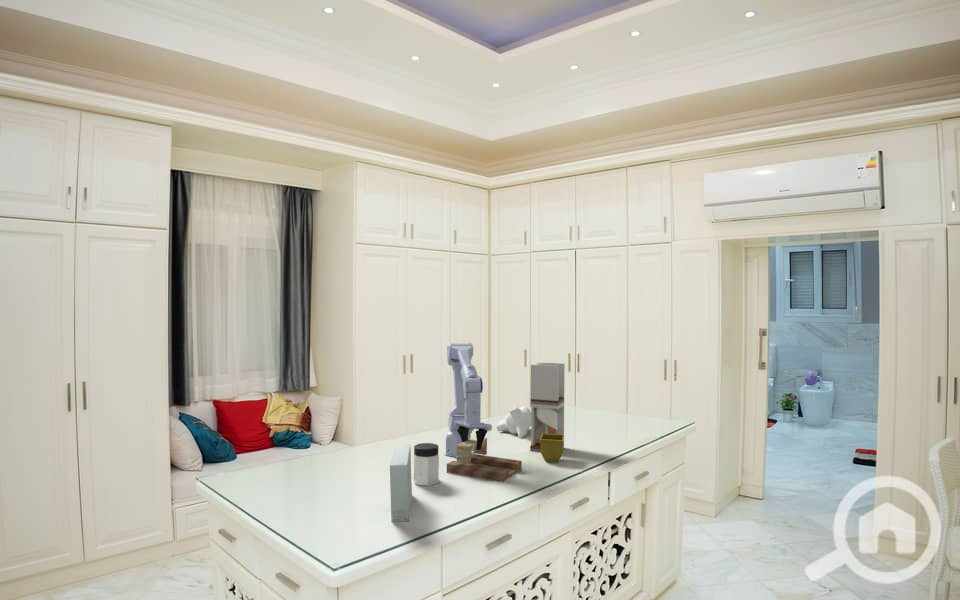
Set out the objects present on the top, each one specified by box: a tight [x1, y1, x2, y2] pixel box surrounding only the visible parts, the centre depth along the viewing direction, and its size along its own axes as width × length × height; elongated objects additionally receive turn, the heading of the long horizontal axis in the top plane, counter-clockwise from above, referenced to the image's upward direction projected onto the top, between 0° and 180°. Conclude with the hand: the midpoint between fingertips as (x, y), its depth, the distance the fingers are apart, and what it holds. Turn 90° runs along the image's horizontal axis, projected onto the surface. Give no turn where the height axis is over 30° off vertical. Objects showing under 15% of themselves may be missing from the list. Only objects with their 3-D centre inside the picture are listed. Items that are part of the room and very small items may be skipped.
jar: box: [413, 442, 440, 487], centre depth 185 cm, size 9×8×12 cm
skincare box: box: [389, 444, 413, 523], centre depth 162 cm, size 21×5×16 cm, turn 5°
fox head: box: [495, 405, 531, 439], centre depth 255 cm, size 13×17×20 cm
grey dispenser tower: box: [529, 361, 566, 453], centre depth 227 cm, size 11×11×35 cm
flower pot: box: [540, 434, 565, 463], centre depth 211 cm, size 9×9×9 cm
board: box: [446, 453, 523, 483], centre depth 198 cm, size 22×16×3 cm
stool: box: [456, 435, 488, 464], centre depth 200 cm, size 14×5×6 cm, turn 153°
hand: (472, 448), depth 200 cm, fingers closed on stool, 5 cm apart
